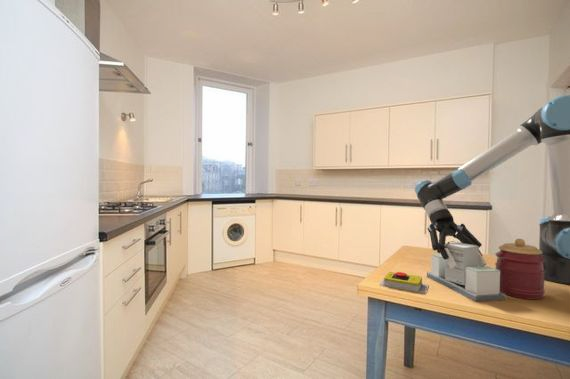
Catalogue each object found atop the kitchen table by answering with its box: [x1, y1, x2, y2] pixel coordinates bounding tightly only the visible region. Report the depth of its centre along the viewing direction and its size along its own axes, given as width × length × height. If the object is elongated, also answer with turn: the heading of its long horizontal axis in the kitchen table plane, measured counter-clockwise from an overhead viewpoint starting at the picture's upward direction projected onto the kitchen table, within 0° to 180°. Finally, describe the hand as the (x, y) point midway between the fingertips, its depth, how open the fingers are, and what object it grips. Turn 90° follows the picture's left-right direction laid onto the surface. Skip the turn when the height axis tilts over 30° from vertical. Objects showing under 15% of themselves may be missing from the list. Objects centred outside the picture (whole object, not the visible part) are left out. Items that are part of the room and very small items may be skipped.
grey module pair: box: [430, 253, 500, 295], centre depth 103 cm, size 22×8×7 cm, turn 9°
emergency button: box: [379, 271, 430, 294], centre depth 105 cm, size 9×4×15 cm
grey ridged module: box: [444, 243, 480, 285], centre depth 103 cm, size 7×7×13 cm
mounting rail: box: [426, 271, 506, 303], centre depth 103 cm, size 24×10×2 cm, turn 9°
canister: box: [494, 238, 546, 300], centre depth 99 cm, size 13×13×18 cm
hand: (468, 266), depth 100 cm, fingers open, 10 cm apart
